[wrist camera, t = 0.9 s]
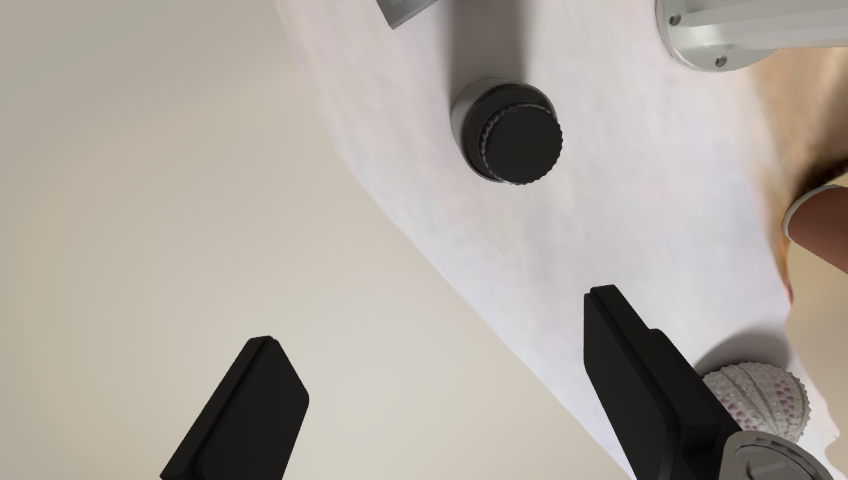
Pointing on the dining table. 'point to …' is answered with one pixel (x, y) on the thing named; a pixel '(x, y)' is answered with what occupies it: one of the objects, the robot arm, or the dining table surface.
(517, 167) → the supplement bottle
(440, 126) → the dining table surface
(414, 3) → the grey square block
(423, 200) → the dining table surface
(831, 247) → the coffee cup
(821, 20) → the robot arm
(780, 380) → the sea urchin shell
